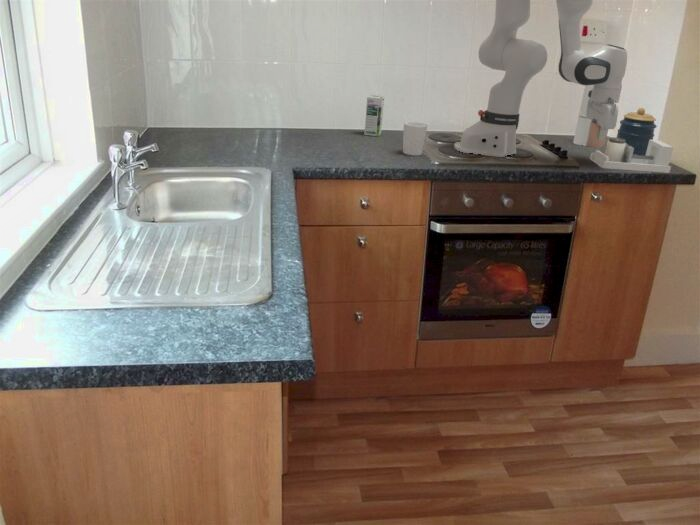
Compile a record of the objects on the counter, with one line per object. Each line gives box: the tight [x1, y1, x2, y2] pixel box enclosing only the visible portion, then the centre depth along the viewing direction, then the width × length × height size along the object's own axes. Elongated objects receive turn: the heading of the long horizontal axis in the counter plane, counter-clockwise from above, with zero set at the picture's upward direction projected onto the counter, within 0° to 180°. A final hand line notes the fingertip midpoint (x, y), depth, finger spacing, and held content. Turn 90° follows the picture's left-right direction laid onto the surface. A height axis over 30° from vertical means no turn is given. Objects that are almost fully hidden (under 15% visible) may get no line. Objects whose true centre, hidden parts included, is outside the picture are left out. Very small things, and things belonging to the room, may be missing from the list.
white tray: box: [589, 139, 674, 174], centre depth 222 cm, size 23×13×9 cm, turn 89°
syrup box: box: [363, 94, 385, 137], centre depth 242 cm, size 6×6×14 cm
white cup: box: [402, 121, 428, 156], centre depth 218 cm, size 8×8×10 cm
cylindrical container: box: [572, 85, 594, 147], centre depth 252 cm, size 7×7×25 cm
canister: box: [616, 107, 658, 155], centre depth 241 cm, size 13×13×18 cm
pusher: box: [622, 144, 654, 163], centre depth 222 cm, size 10×10×7 cm
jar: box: [586, 118, 609, 149], centre depth 219 cm, size 6×6×9 cm
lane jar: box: [604, 136, 626, 162], centre depth 222 cm, size 6×6×9 cm
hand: (596, 136), depth 220 cm, fingers closed on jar, 6 cm apart
